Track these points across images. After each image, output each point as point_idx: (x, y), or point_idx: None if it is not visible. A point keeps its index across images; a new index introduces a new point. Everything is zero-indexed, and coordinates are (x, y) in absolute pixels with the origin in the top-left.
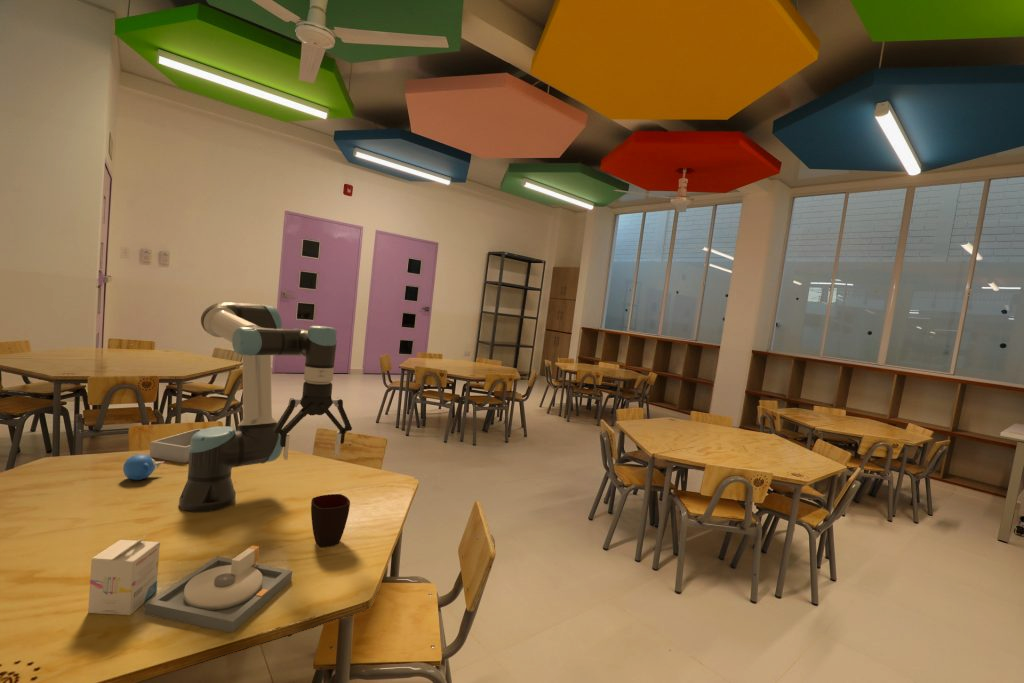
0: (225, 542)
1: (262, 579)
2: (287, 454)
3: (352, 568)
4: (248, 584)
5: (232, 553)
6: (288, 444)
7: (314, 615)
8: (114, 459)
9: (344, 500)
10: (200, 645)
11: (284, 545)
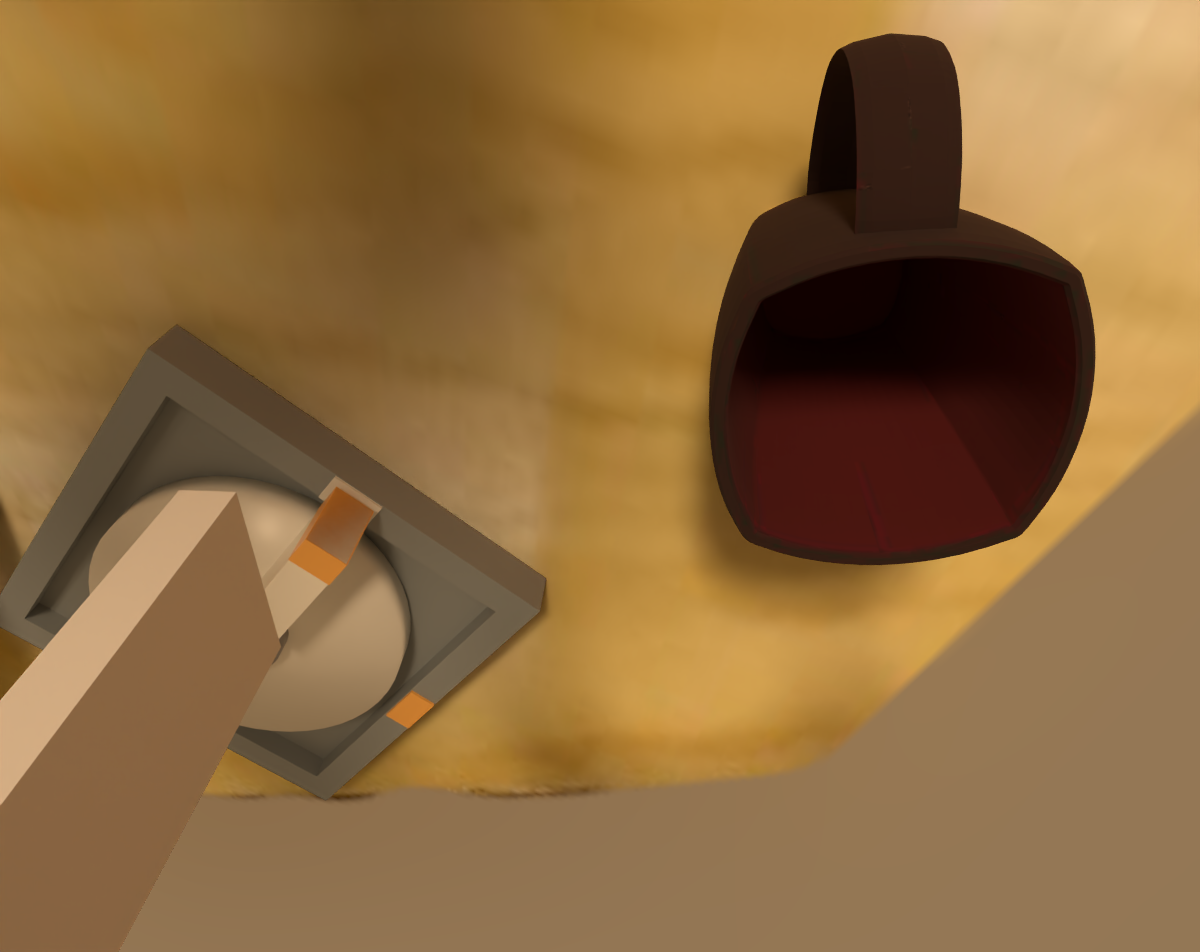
0: (146, 7)
1: (413, 579)
2: (231, 723)
3: (846, 588)
4: (348, 670)
5: (231, 205)
6: (123, 927)
7: (598, 784)
8: None
9: (1060, 354)
10: (258, 776)
11: (548, 210)
